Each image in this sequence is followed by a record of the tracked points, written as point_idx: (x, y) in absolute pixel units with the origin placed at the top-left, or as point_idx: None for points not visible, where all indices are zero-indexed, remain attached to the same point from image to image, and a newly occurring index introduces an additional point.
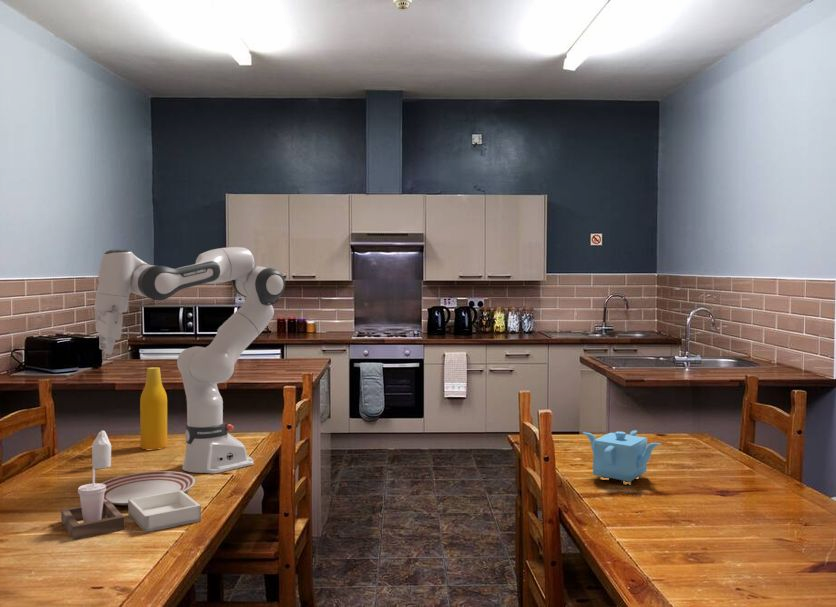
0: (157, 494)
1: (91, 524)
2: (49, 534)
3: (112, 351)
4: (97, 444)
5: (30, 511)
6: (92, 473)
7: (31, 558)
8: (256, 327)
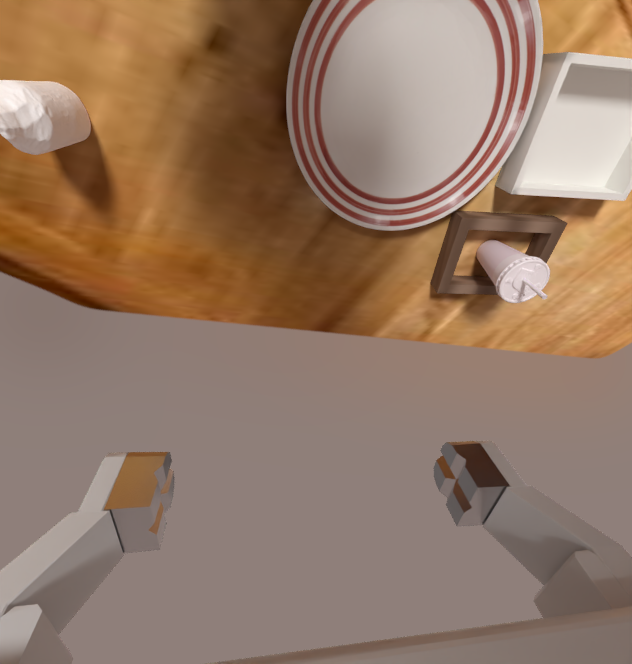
0: (540, 125)
1: None
2: (469, 304)
3: (506, 458)
4: (51, 143)
5: (346, 308)
6: (538, 294)
7: (528, 332)
8: None
